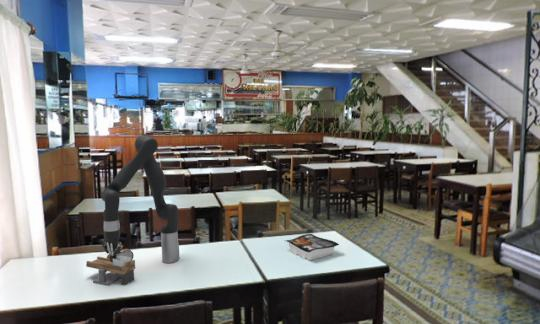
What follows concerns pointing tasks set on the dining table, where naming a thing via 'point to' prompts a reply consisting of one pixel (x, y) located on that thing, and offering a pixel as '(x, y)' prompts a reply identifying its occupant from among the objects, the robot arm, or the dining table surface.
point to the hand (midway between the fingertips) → (113, 261)
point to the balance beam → (110, 265)
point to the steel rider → (121, 261)
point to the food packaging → (311, 246)
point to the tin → (124, 253)
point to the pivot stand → (114, 277)
